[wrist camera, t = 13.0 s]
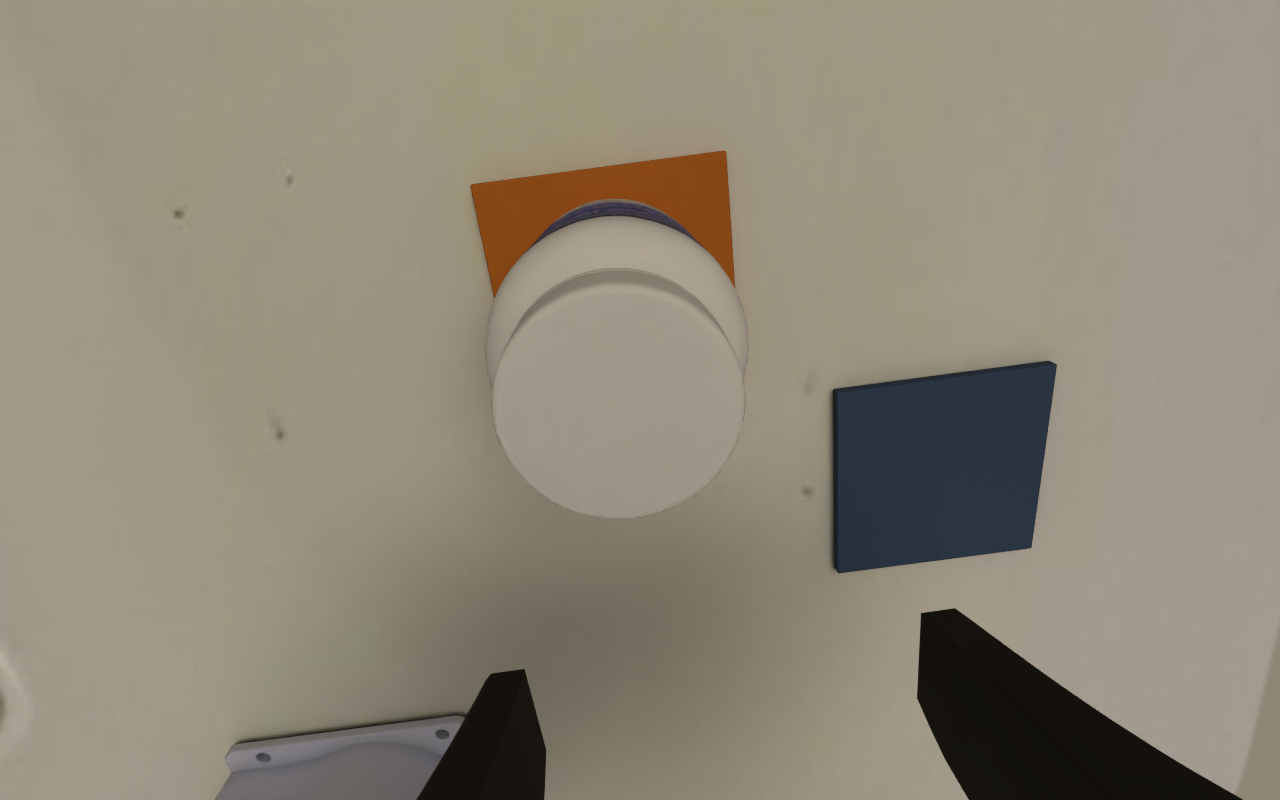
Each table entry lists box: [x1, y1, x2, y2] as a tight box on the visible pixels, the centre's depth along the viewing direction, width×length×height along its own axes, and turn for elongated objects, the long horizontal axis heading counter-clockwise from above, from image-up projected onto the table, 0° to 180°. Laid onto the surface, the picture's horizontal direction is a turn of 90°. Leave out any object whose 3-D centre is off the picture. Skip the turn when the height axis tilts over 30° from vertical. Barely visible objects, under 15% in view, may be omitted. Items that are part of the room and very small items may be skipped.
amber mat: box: [470, 151, 735, 298], centre depth 18 cm, size 7×7×1 cm
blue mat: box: [834, 361, 1057, 573], centre depth 20 cm, size 7×7×1 cm
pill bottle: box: [485, 199, 749, 519], centre depth 13 cm, size 5×5×9 cm
